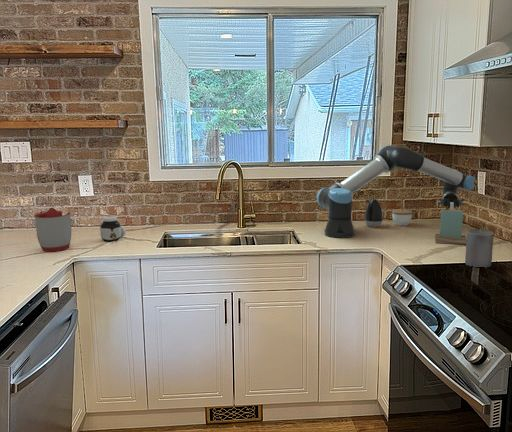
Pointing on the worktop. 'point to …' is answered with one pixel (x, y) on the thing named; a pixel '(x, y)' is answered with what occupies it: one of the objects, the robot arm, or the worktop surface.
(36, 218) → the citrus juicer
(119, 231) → the spread jar
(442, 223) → the tile
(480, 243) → the pillar candle
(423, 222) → the worktop surface
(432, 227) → the worktop surface
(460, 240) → the board
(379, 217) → the black rounded cone
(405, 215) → the lidded jar
